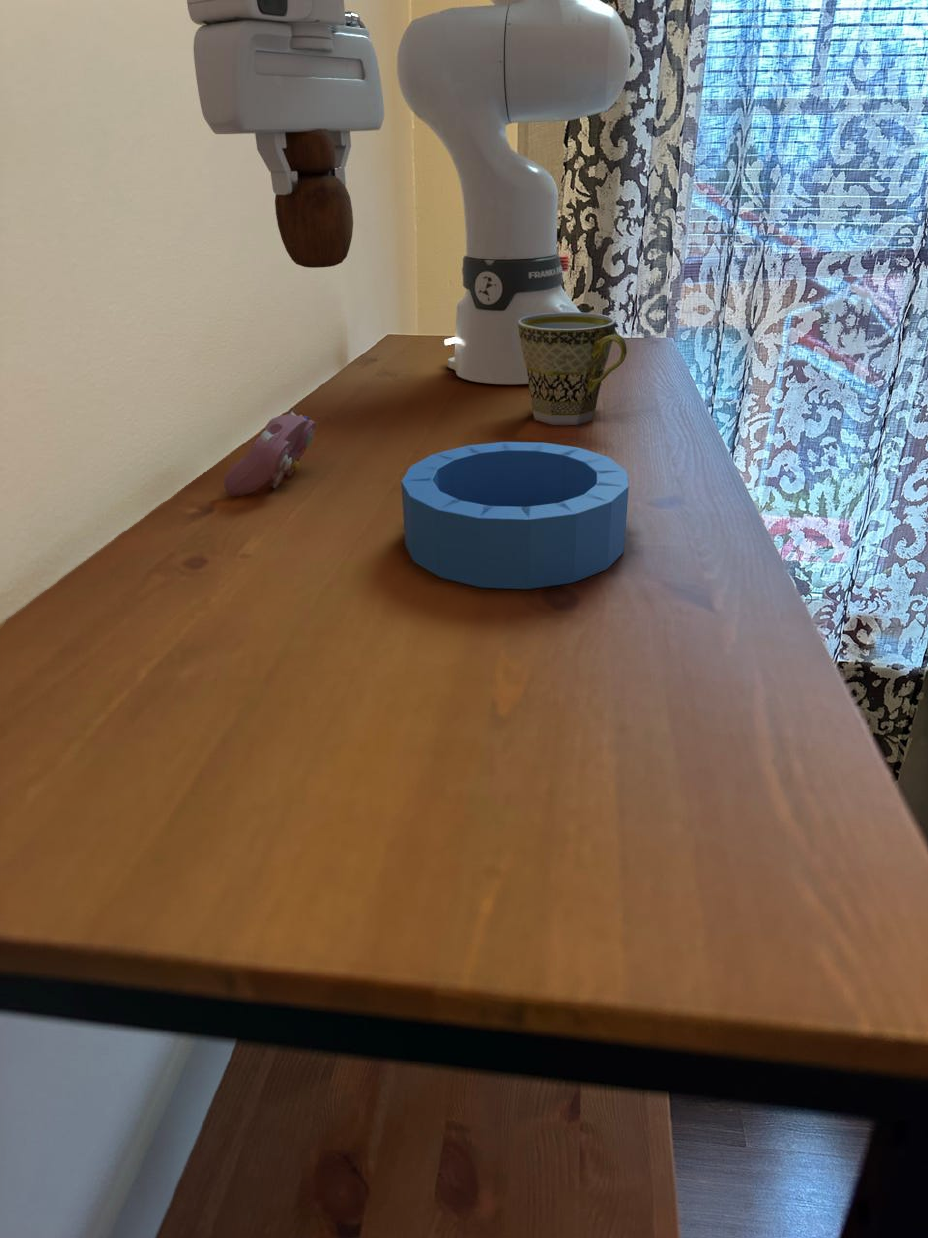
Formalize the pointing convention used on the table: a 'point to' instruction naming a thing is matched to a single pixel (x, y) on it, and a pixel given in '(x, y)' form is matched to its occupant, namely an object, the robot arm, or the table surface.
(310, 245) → the wooden figurine
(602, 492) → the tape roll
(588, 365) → the ceramic cup
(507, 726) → the table surface
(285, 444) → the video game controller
